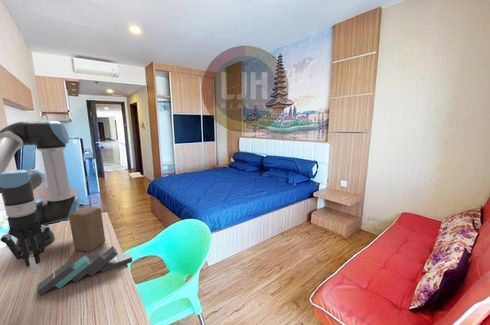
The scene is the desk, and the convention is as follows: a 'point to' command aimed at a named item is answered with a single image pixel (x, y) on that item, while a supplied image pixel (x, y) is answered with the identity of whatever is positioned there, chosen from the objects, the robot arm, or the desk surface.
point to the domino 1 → (55, 277)
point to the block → (87, 228)
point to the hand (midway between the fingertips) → (35, 271)
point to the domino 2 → (74, 271)
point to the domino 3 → (93, 262)
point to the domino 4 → (107, 257)
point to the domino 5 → (117, 262)
